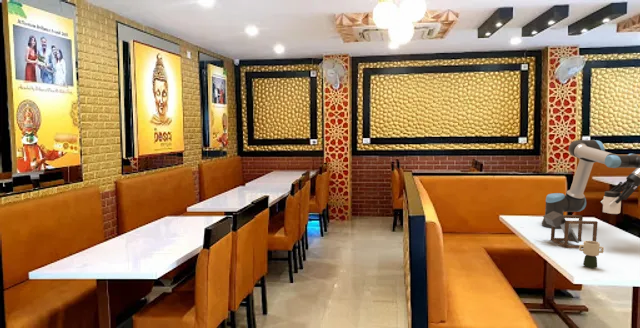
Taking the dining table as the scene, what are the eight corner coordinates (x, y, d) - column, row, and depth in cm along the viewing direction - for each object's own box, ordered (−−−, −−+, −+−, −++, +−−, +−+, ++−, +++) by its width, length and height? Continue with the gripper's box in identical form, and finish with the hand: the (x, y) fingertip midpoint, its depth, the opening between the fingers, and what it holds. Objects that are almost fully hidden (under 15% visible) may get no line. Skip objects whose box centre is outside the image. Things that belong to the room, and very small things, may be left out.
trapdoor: (542, 215, 291) (554, 209, 290) (555, 242, 292) (567, 236, 291) (552, 220, 277) (565, 214, 276) (566, 248, 278) (579, 242, 277)
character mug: (601, 266, 240) (602, 241, 239) (603, 270, 234) (605, 245, 233) (577, 263, 245) (578, 239, 243) (578, 267, 238) (580, 242, 237)
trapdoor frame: (550, 240, 294) (552, 215, 292) (579, 240, 293) (581, 215, 292) (564, 247, 276) (566, 221, 274) (595, 248, 275) (597, 221, 274)
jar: (604, 213, 269) (605, 192, 268) (600, 210, 277) (602, 190, 276) (622, 214, 266) (623, 193, 265) (618, 211, 274) (619, 191, 273)
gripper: (653, 184, 259) (621, 213, 261) (630, 180, 279) (600, 206, 281) (644, 175, 258) (612, 203, 260) (621, 171, 279) (592, 197, 281)
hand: (606, 204), depth 271 cm, fingers closed on jar, 8 cm apart
